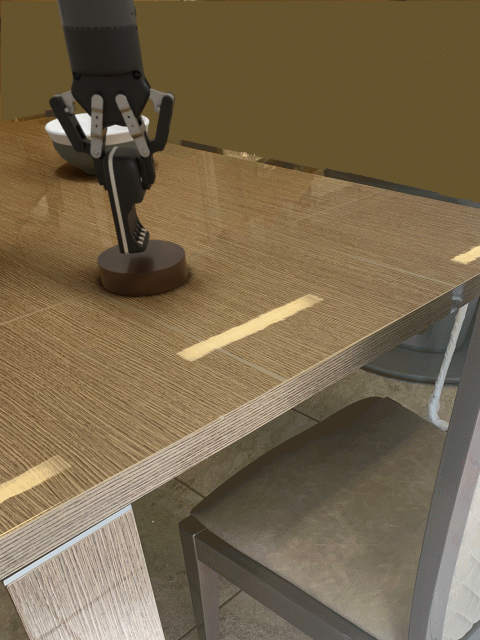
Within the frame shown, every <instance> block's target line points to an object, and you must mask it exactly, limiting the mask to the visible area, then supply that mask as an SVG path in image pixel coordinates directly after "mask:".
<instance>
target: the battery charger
mask: <svg viewBox="0 0 480 640" xmlns="http://www.w3.org/2000/svg"><path fill="white" fill-rule="evenodd" d="M139 156H140V153H139V151H138V150H137V149H135V148H133V147H114V148H110V149H109V150H108V151H107V153H106V155H105V157H104V160H103V167H104V174H105V180H106V185H107V190H106V191H107V195H108V200H109V206H110V209H111V215H112V219H113V225H114V229H115V234H116V239H117V245H119V251H120V253H121V254H129V253H140V252H144V251H145V250H146V248H147V245H148V241H149V240H150V231H149V230H147V228H145V226H144V225H143V223H141V221H140V218H139V217H138V212H137V209H136V205H137V204H142V202H143V201H144V198H145V196H146V192H147V190H144V189H143V184H142V178H141V172H140V166H139V160H138V158H139Z"/></svg>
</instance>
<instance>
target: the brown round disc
mask: <svg viewBox="0 0 480 640" xmlns="http://www.w3.org/2000/svg"><path fill="white" fill-rule="evenodd" d="M96 261H97V266H98V271H99V276H100V281H101V284H102V286H103V288H104V289H106V290H107V291H109V292H111V293H113V294H116V295H121V296H127V297H129V296H130V297H143V296H144V297H145V296H153V295H157V294H162V293H165V292H169V291H171V290H174V289H176V288H177V287H179V286H182V284H183V283H184V282H186V280H187V279H188V278H189V277H188V276H189V271H188V264H187V257H186V251H185V249H184V247H183V246H181V245H180V244H177V243H175V242H172V241H168V240H163V239H162V240H161V239H149V241H148V245H147V248H146V250H145V251H144V252H140V253H129V254H121V253H120V251H119V245H118V244H116V245H113V246H111V247H109V248H107V249H105V250H103V251H101V252H100V254H98V257H97V260H96Z"/></svg>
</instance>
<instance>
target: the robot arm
mask: <svg viewBox="0 0 480 640" xmlns="http://www.w3.org/2000/svg"><path fill="white" fill-rule="evenodd" d="M56 3H57V8H58V13H59V18H60V22H61V28H62V31H63V37H64V42H65V46H66V47H65V48H66V51H67V56H68V62H69V66H70V71H71V75H72V82H71V86H70V90H67V91H66V92H63V93H61V92H58V93H56V94H54V95H53V96H52V97H50V98H49V101H48V104H49V106H50V108H51V110H52V112H53V113H54V115H55V118H56V119H58V121H59V123H60V124H61V126H62V128H63V130H64V132H65V133H66V135H67V137H68V139H69V141H70V143H71V144H72V146H73V148H74V150H75V151H77V152H83V153H86V154H89V155H90V156H91V157H92V158H93V161H94V166H95V171H96V175H95V176H96V180H97V182H98V183H97V184H98V185H99V186H103V190H104V191H108V190H107V185H106V180H105V174H104V167H103V160H104V157H105V155H106V153H105V149H106V134H107V129H108V127H110V126H113V125H119V126H122V127H127V128H128V130H129V132H130V135H131V137H132V138H133V139H134V142H135V144H136V146H137V149H138V151H139V153H140V156H139V158H138V160H139V166H140V172H141V178H142V184H143V189H144V190H146V191H150V190H151V189H152V186H153V185H154V184H155V182H156V178H157V174H156V168H155V162H154V154H156V153H158V152H163V151H164V150H165V148H166V145H167V144H168V139H169V135H170V129H171V124H172V117H173V112H174V107H175V102H176V97H175V94H174V93H172V92H170V91H168V92H163V91H160V90H158V89H155V88H152V87H151V84H150V82H149V80H148V79H147V78H146V75H145V71H144V70H145V69H144V63H143V57H142V50H141V43H140V37H139V30H138V23H137V22H138V21H137V10H136V9H137V8H136V5H135V3H134V0H56ZM149 100H150V101H151V102H152V104H153V110H154V112H156V113H157V114H158V119H157V125H156V130H155V136H154V138H150V136H149V134H148V133H149V132H147V131H146V126H145V123H144V121H143V118H142V116H143V115H142V113H143V111H144V109H145V107H146V105H147V104H148V102H149ZM75 101H76V102H77V103H78V105H79V106H80V107H81V109H82V110H84V111H85V113H88V115H89V116H90V117H91V132H90V134H91V140H89V139H87V137H86V135H85V133H84V131H83V129H82V127H81V126H80V124H79V122H78V120H77V118H76V116H75V115H76V114H75V112H76V109H77V108H76V104H75ZM141 115H142V116H141ZM132 125H133V126H132Z"/></svg>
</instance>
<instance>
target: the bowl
mask: <svg viewBox="0 0 480 640" xmlns="http://www.w3.org/2000/svg"><path fill="white" fill-rule="evenodd" d="M75 116H76V118H77V120H78V122H79V124H80V126H81V127H82V129H83V131H84V133H85V135H86V137H87V139H89V140H91V134H90V132H91V117H90V116H89V115H88V113H87V112H84V113H83V112H82V113H77V114H75ZM141 116H142V118H143V121H144V123H145V126H146V131H147V133H149V131H148V130H149V125H150V120H149V118H148V117H146V116H145V115H143V114H141ZM132 126H133V125H132ZM44 130H45V131H46V133H47V134H48V136H49V138H50V139H51V142H52V145H53V148H54V150H55V151H56V152H57V154H58V155H59V156H60V158H61V159H62V160H63V161H65V162H67V163H68V164H70V165H72V166H74V167H76V168H77V169H79V170H82V171H83V172H84V173H86V174H89V175H95V176H96V171H95V166H94V161H93V158H92V157H91V156H90V155H89V154H86V153H83V152H77V151H75V150H74V148H73V146H72V144H71V143H70V141H69V139H68V137H67V135H66V133H65V132H64V130H63V128H62V126H61V124H60V123H59V121H58V119H57V118H55V119H52V120H50V121H49V122H47V123H46V124H45V126H44ZM114 147H133V148H135V149H137V146H136V144H135V142H134V139H133V138H132V137H131V135H130V132H129V130H128V128H127V127H122V126H119V125H113V126H110V127H108V129H107V134H106V149H105V153H107V151H108V150H109V149H110V148H114ZM137 150H138V149H137Z"/></svg>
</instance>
